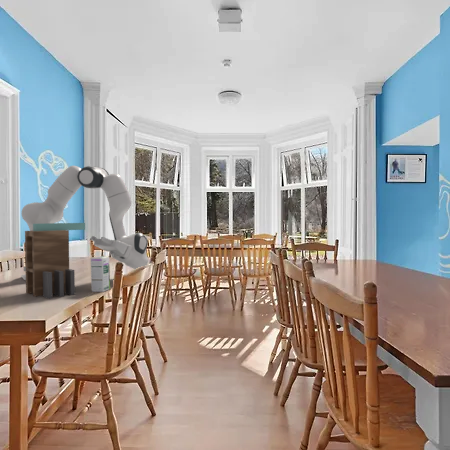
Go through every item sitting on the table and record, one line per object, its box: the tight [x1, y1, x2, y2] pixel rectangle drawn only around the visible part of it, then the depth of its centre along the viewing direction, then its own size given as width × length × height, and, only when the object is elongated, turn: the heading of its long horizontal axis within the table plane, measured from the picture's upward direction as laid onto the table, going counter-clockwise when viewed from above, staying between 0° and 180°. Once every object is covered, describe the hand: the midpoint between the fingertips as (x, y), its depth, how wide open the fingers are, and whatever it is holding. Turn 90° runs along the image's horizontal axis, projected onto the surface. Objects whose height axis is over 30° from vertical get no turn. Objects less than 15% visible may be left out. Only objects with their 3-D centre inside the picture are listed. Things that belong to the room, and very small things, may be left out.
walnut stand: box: [24, 230, 70, 297], centre depth 159 cm, size 10×14×26 cm
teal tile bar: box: [33, 222, 86, 231], centre depth 163 cm, size 3×21×3 cm, turn 136°
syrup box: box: [90, 255, 111, 293], centre depth 163 cm, size 6×6×14 cm
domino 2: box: [54, 270, 65, 297], centre depth 153 cm, size 2×5×10 cm, turn 46°
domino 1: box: [42, 271, 53, 299], centre depth 150 cm, size 2×5×10 cm, turn 46°
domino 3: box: [65, 268, 76, 296], centre depth 156 cm, size 2×5×10 cm, turn 47°
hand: (96, 237), depth 175 cm, fingers open, 8 cm apart
